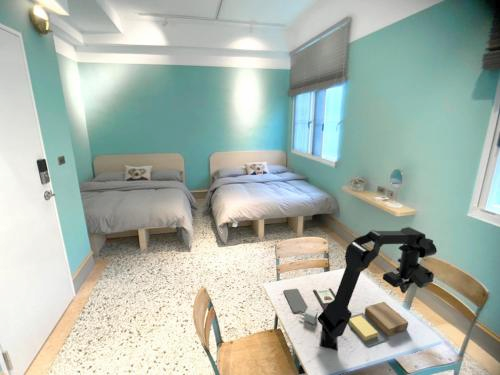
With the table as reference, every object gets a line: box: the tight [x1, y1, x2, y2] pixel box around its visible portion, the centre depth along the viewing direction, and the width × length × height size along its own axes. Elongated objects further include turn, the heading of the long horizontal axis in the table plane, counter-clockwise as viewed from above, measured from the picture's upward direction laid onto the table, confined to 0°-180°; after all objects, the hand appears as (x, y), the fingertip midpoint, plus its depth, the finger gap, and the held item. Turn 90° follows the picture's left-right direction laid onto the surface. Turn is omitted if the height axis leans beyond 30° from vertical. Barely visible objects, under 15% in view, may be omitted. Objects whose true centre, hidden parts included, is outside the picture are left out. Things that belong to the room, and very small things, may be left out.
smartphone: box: [283, 288, 309, 314], centre depth 117 cm, size 8×1×15 cm
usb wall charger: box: [298, 307, 319, 325], centre depth 106 cm, size 4×7×4 cm, turn 59°
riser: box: [364, 301, 409, 338], centre depth 104 cm, size 10×12×4 cm
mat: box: [347, 312, 390, 348], centre depth 101 cm, size 10×14×1 cm
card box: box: [349, 315, 378, 342], centre depth 101 cm, size 6×9×2 cm, turn 20°
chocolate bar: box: [312, 287, 336, 311], centre depth 115 cm, size 9×1×18 cm
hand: (403, 292), depth 103 cm, fingers closed
